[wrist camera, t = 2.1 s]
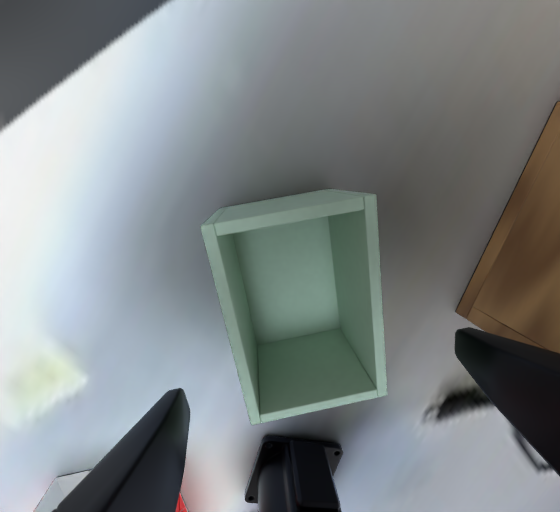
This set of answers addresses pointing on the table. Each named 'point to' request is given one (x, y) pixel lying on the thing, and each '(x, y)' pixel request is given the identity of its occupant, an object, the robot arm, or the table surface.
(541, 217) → the crate
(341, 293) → the bin
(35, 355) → the table surface
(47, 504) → the red and white cube
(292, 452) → the robot arm
